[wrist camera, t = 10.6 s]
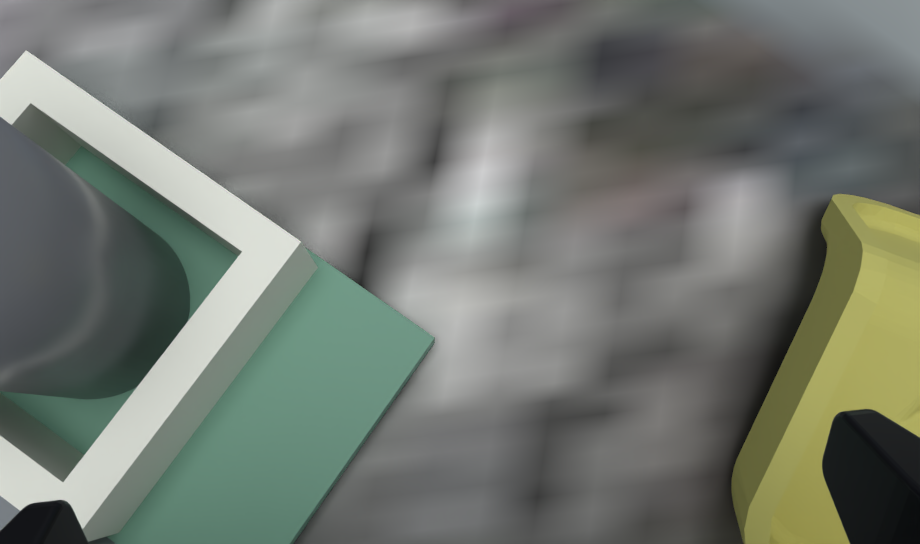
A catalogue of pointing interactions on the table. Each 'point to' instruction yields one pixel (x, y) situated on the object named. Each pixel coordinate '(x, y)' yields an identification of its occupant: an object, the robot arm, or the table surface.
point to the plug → (78, 282)
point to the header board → (202, 358)
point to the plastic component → (835, 372)
